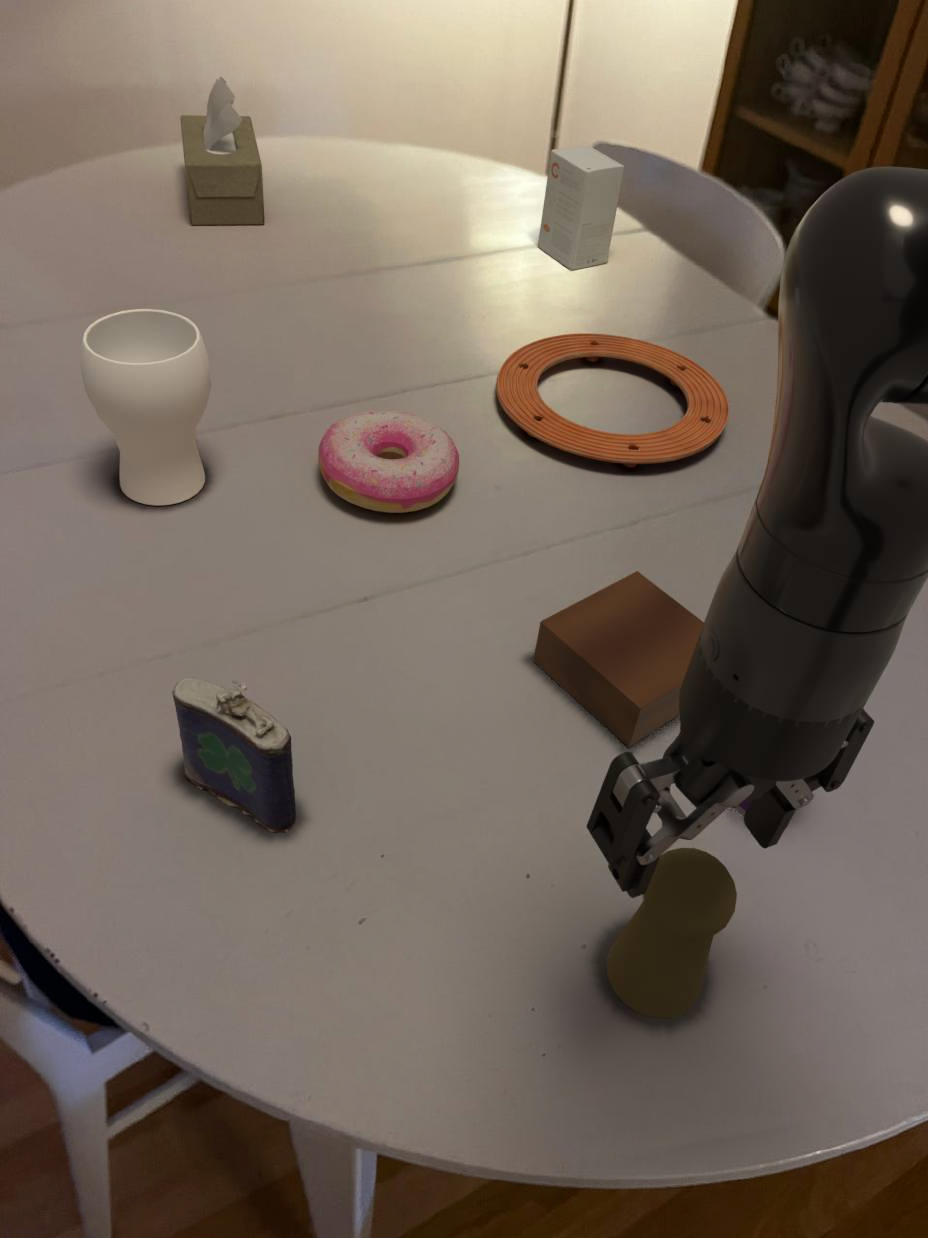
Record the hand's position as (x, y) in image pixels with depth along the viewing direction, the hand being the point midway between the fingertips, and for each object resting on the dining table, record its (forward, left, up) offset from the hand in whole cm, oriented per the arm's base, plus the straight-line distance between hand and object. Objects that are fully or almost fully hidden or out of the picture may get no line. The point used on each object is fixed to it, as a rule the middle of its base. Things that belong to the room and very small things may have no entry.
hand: (694, 857), depth 55 cm
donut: (+53, -3, -13) cm, 55 cm away
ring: (+58, -31, -13) cm, 67 cm away
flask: (+22, +20, -13) cm, 32 cm away
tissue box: (+122, -4, -13) cm, 123 cm away
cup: (+59, +17, -13) cm, 63 cm away
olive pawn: (0, -1, -13) cm, 13 cm away
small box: (+94, -45, -13) cm, 105 cm away
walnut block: (+23, -12, -13) cm, 29 cm away
